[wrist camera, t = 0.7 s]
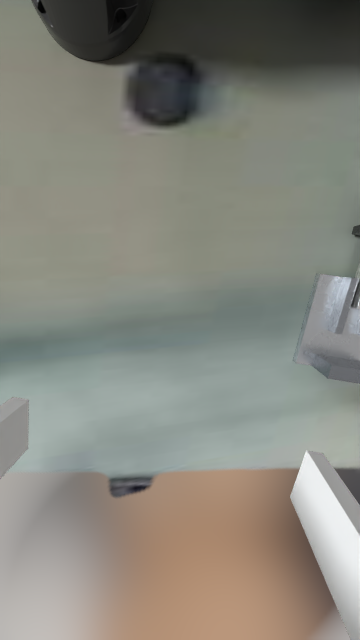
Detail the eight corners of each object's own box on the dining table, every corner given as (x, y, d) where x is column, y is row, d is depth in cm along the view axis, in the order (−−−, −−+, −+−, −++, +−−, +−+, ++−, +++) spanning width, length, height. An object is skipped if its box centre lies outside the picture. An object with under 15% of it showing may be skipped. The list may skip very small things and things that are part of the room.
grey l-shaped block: (316, 273, 35) (339, 274, 29) (396, 285, 34) (435, 288, 29) (292, 360, 38) (309, 375, 32) (366, 371, 37) (396, 389, 32)
